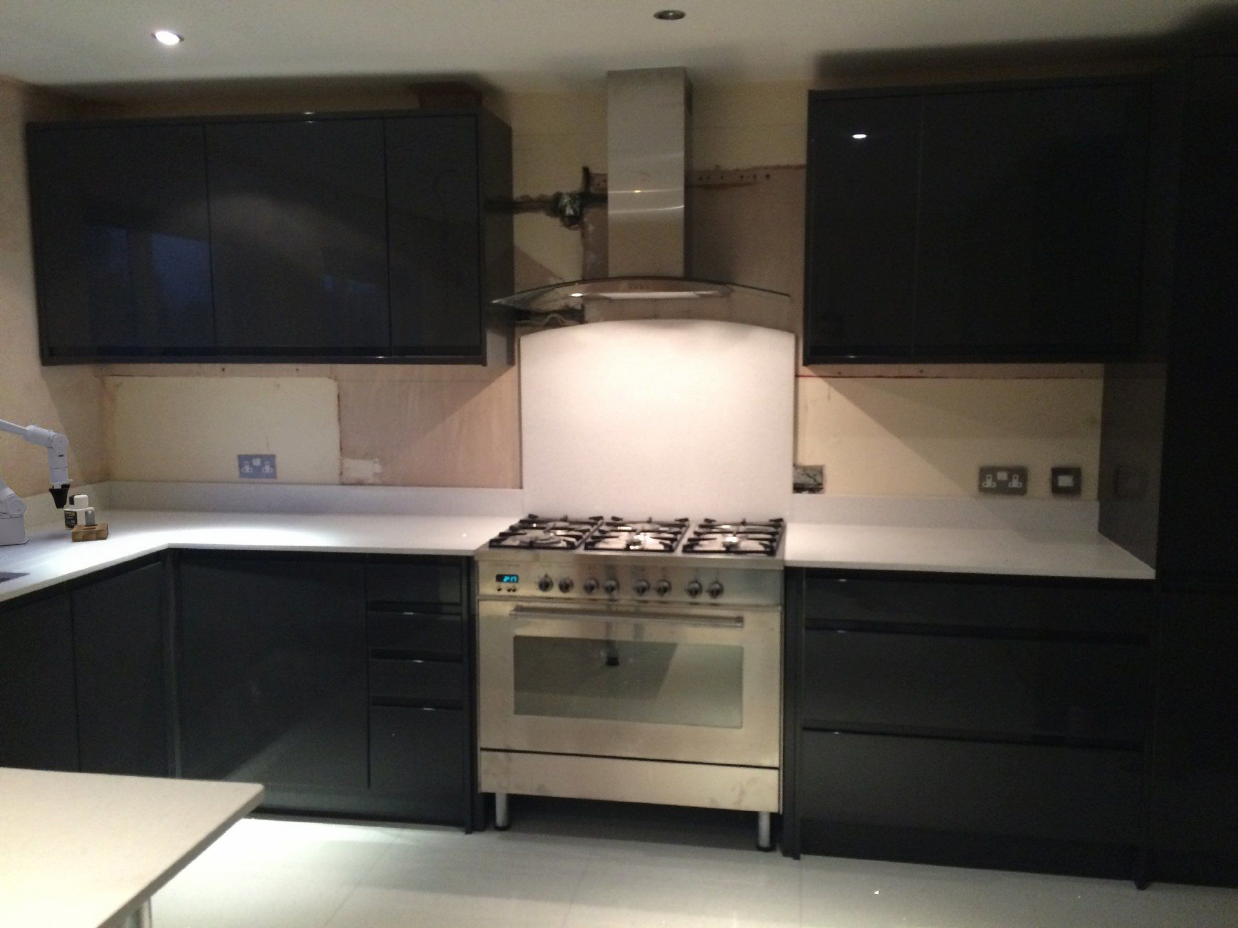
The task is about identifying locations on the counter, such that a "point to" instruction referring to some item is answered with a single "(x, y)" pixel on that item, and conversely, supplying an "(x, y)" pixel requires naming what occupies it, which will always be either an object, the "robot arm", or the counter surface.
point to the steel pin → (90, 518)
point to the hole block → (90, 532)
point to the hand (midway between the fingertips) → (61, 506)
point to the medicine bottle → (76, 511)
